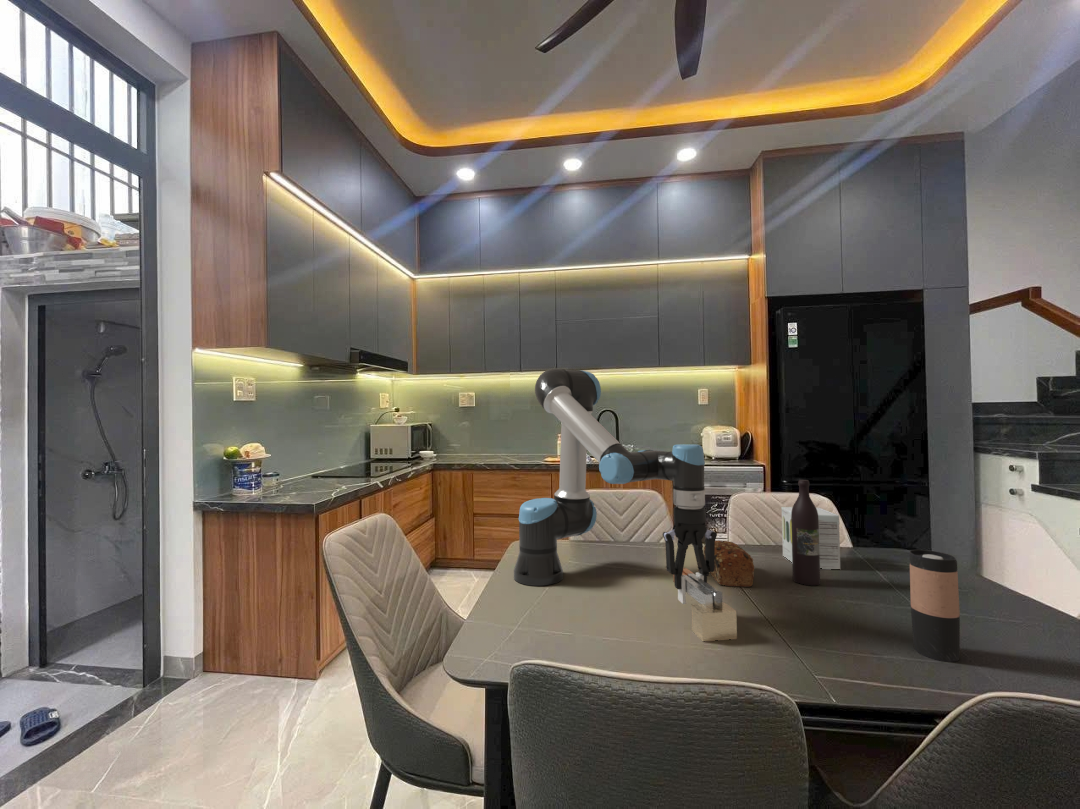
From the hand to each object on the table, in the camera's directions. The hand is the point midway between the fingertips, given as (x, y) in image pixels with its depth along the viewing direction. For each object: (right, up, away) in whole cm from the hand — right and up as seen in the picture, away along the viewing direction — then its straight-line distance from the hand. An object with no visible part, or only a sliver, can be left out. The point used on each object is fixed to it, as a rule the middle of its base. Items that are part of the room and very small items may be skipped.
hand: (691, 600), depth 113 cm
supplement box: (+53, -5, +40) cm, 66 cm away
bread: (+20, -5, +27) cm, 34 cm away
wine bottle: (+41, -4, +22) cm, 47 cm away
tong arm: (+1, +3, -3) cm, 4 cm away
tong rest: (0, -3, -4) cm, 5 cm away
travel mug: (+44, -3, -19) cm, 48 cm away
